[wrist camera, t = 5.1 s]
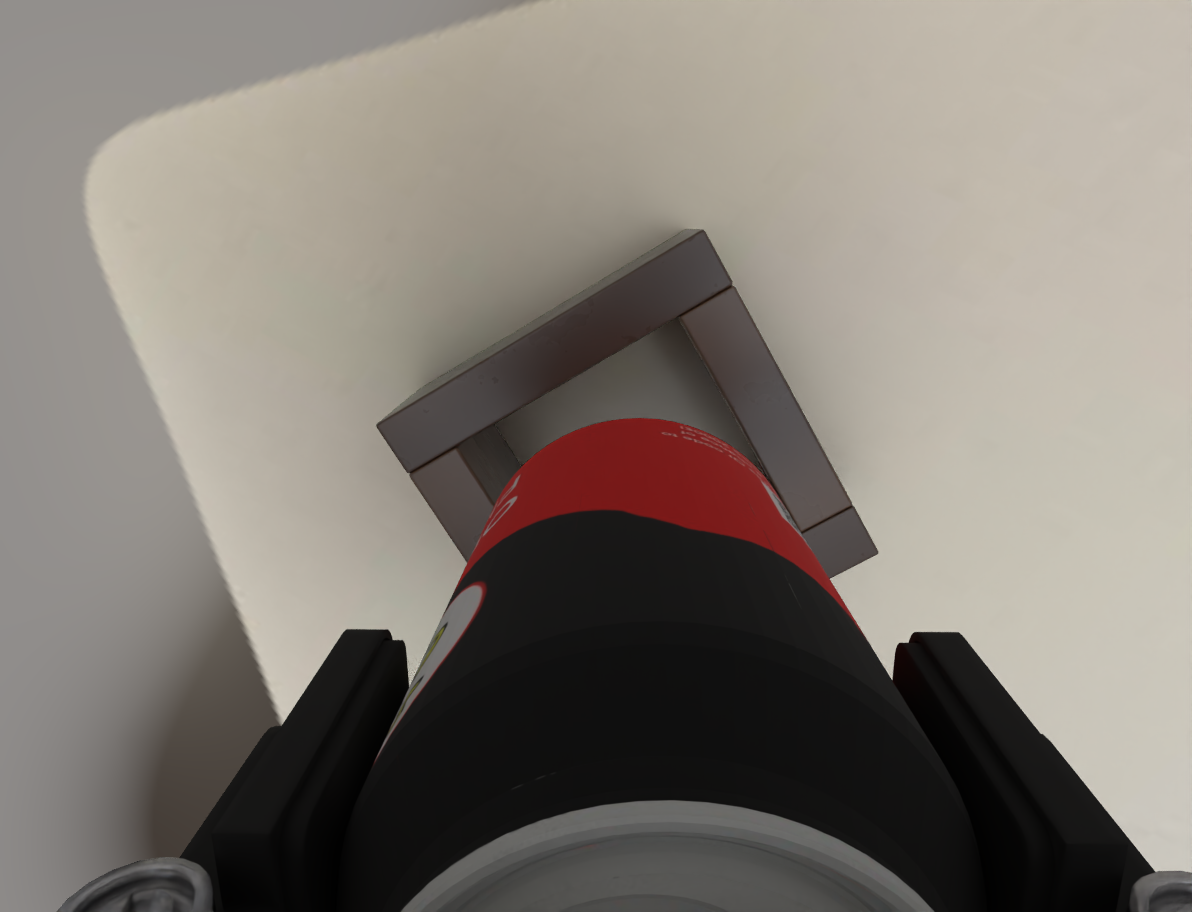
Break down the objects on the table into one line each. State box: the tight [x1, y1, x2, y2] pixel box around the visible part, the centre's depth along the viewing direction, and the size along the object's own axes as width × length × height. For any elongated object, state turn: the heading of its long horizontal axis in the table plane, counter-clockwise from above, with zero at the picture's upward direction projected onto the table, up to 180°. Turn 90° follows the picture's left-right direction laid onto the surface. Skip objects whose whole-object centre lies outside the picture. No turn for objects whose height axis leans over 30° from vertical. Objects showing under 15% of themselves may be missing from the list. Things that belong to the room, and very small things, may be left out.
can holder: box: [376, 229, 878, 579], centre depth 26 cm, size 10×10×5 cm
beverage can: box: [336, 418, 987, 912], centre depth 12 cm, size 6×6×12 cm
